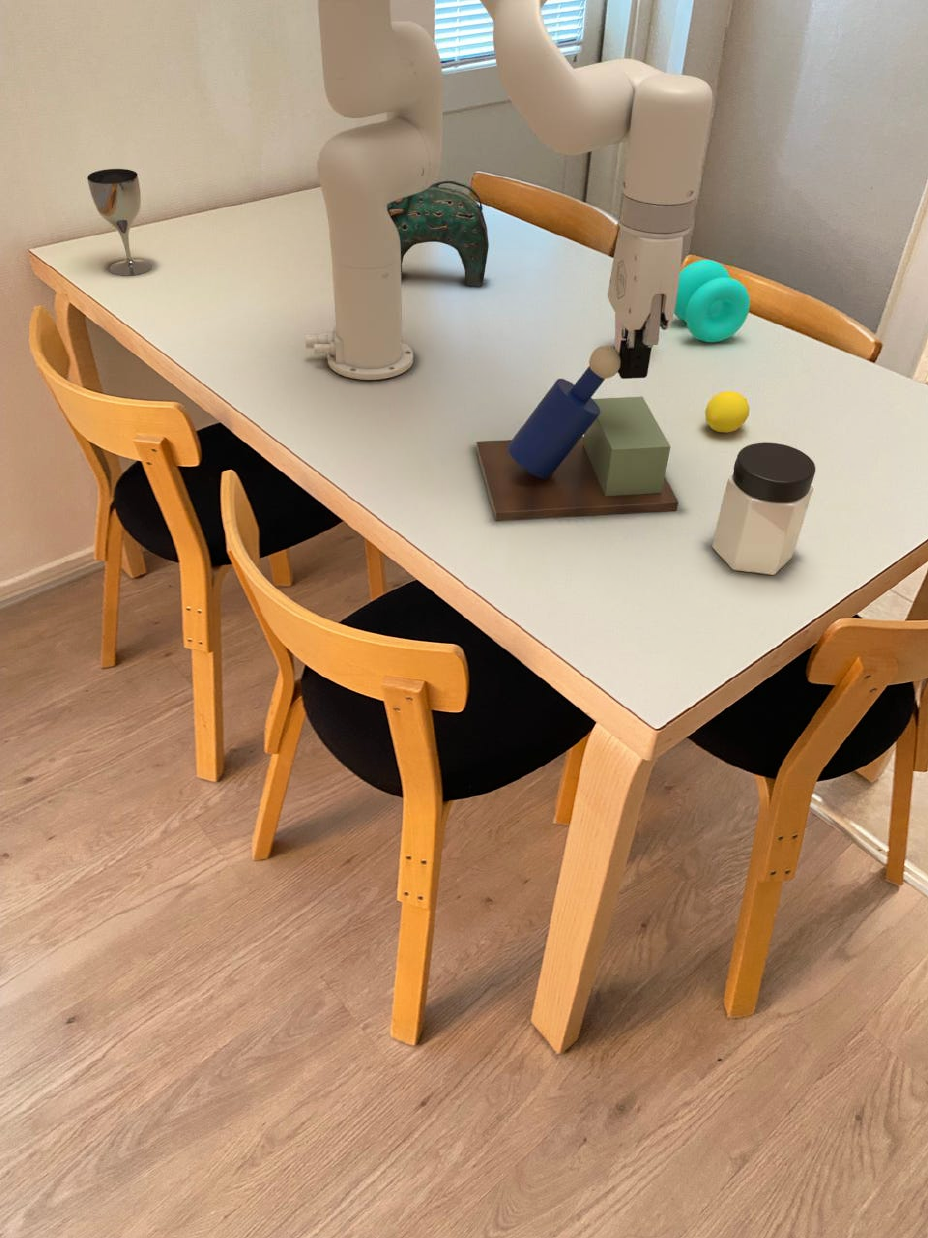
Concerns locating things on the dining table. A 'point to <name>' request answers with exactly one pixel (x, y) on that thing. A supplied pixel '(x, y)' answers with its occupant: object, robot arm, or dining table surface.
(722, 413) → the lemon
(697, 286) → the donuts
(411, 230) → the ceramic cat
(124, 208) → the wine glass
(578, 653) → the dining table surface
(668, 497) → the board
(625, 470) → the block
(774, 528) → the jar
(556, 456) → the bottle
